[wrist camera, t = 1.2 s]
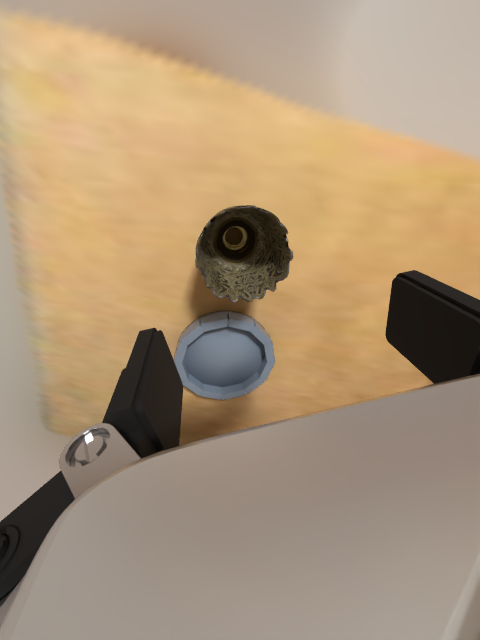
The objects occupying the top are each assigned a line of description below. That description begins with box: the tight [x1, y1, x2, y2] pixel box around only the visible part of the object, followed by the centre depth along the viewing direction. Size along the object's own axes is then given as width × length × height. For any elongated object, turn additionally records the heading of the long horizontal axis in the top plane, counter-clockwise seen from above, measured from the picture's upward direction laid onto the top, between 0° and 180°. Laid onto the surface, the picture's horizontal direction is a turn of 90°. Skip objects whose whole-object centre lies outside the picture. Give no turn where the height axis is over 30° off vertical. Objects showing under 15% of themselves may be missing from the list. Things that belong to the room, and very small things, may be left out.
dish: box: [174, 311, 275, 400], centre depth 33 cm, size 12×12×2 cm
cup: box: [195, 205, 293, 302], centre depth 23 cm, size 8×7×8 cm
